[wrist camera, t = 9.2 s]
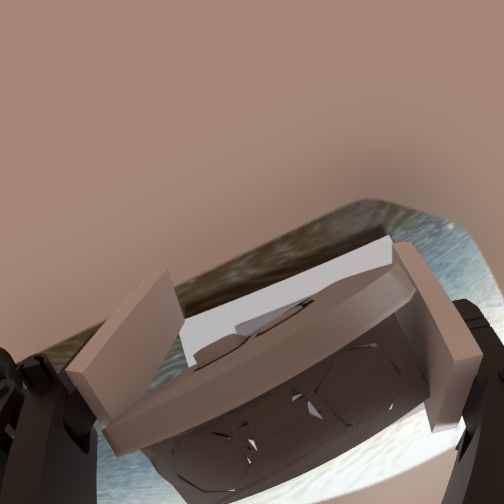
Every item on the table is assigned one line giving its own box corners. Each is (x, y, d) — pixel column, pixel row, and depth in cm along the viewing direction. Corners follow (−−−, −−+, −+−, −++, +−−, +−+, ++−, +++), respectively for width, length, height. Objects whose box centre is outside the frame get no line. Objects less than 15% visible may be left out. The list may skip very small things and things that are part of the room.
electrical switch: (341, 280, 16) (364, 200, 7) (394, 364, 14) (478, 377, 6) (187, 370, 16) (67, 379, 8) (234, 453, 15) (151, 536, 6)
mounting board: (232, 473, 26) (225, 479, 24) (185, 325, 32) (175, 322, 30) (450, 389, 24) (458, 389, 22) (385, 243, 30) (389, 234, 28)
